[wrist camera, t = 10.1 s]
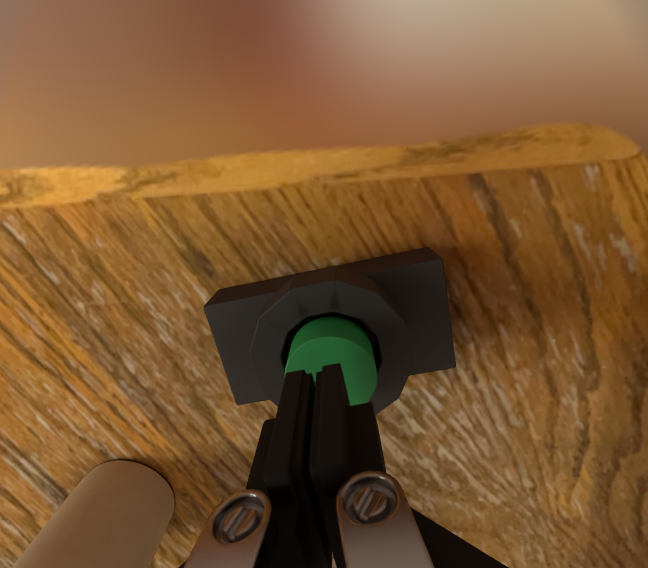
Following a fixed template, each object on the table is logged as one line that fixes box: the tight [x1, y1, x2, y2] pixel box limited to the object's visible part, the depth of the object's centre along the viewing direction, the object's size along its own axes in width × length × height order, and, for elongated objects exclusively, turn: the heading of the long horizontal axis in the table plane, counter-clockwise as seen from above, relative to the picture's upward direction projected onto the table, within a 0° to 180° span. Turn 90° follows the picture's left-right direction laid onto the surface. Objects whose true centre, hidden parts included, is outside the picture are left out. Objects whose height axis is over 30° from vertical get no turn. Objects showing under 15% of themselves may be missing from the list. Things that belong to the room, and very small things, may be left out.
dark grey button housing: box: [204, 247, 456, 415], centre depth 16 cm, size 10×6×4 cm, turn 102°
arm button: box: [285, 317, 377, 406], centre depth 14 cm, size 3×3×2 cm
